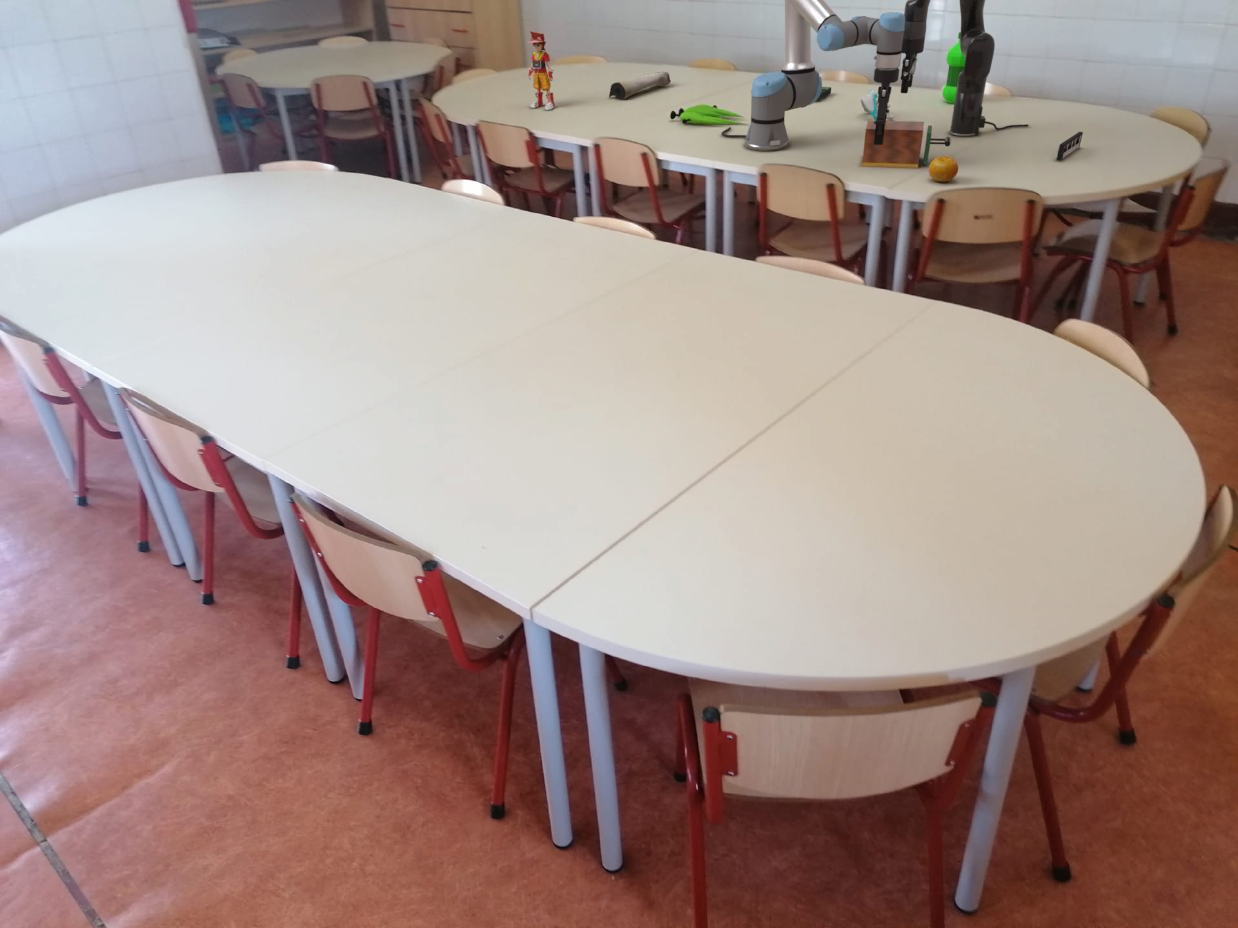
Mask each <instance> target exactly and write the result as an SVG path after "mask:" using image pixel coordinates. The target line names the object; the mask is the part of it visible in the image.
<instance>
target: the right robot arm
mask: <svg viewBox="0 0 1238 928" xmlns="http://www.w3.org/2000/svg"><path fill="white" fill-rule="evenodd" d="M930 3H931V0H907V1H906V2H905V5H904V12H903V14H904V16H905V26H904V27H905V30H904V35H903V41H902V49H901V54H905V57H904V58H903V59H902V61H901V64H902V66H901V74H900V81H901V86H900V94H907V93H908V92H909V88H912V85H913V81H914V80H913V79H914V75H915V72H916V69H917V68H916V67H917V62H918V54H922V53H923V52H924V48H925V41H926V34H927V20H928V12H929V7H930ZM985 3H986V0H959V11H960V12H959V13H960V32H961V34H960V50H961V53H962V54H963V56H965V57H966V59H965V65H964V69H963V71H962V72H961V73H960V74H959V77H958V83H957V90H956V96H955V103H953V110H952V115H951V124H950V129H949V134H950V135H952V136H956V137H973V136H979V131H980V129H984V128H985V126H986V125H991V126H993V128H994V129H995V130H996V131H1001V130H1006V129H1009V128H1023V127H1024V128H1025V127H1029V126H1030V125H1029V124H1027V123H1025V124H1009V125H1006V126H1002V127H997V125H996V124H995V123H993V122H991V121H986V120H987V119H986V117H985V115H983V109H984V107H983V102H984V96H985V90H986V83H987V79H988V77H989V74H990V73H991V69H992V63H993V59H994V54H995V48H996V47H995V46H996V42H995V39H994V36H992V34H990V33H988V32H987V31H986V28H985V22H984V8H985ZM985 124H986V125H985Z"/></svg>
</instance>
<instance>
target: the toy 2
mask: <svg viewBox="0 0 1238 928" xmlns="http://www.w3.org/2000/svg"><path fill="white" fill-rule="evenodd" d="M669 116H670V117H669V118H670V120H674V119H675V118H676V117H679V120H680V121H681V124H683V125H685V124H695V125H697V124H705V125H706V124H707V125H746V123H744V122H741V121H740V122H739V121H735V120H730V119H724V118H723V117H734V118H744V116H742V115H741V114H739V113H735V112H733V111H730V110H726V109H722V108H718V106H717V105H715V104H714V105H713V106H711V105H709V104H696V105H694V106H690V107H688V108H686V109H684V108H682V107H680V108H679V109H678V113H676V111H675V110H671V112H670V115H669Z"/></svg>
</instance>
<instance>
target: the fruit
mask: <svg viewBox="0 0 1238 928" xmlns="http://www.w3.org/2000/svg"><path fill="white" fill-rule="evenodd" d="M958 172H959V164H958V162H957V161H956V159H955V158H953V157H951V156H949V155H942V156H938V157H935V158H934V159H932V160H931V161H930V163H929V166H928V175H929V177H930V178H931V179H932V180H933V181H935V182H939V183H941V182H942V183H945V182H949V181H951V180H953V179H954V178H955V177H956V176H957V174H958Z"/></svg>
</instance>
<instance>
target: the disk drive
mask: <svg viewBox="0 0 1238 928" xmlns="http://www.w3.org/2000/svg"><path fill="white" fill-rule="evenodd" d="M831 93H832V87H830V86H822V90H821V93H820V96H819V98H818V99H817V100H816V101H815V102H819V101H821V100H823V99H824V98H826V97H828V96H829V95H831Z"/></svg>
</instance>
